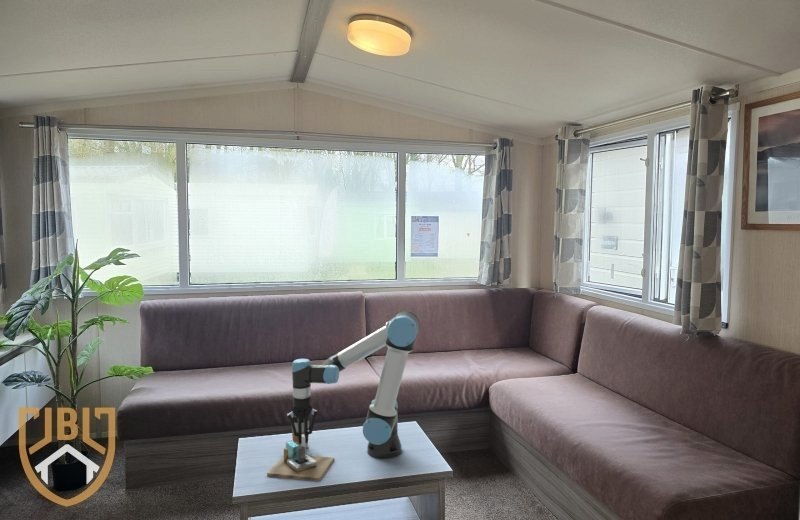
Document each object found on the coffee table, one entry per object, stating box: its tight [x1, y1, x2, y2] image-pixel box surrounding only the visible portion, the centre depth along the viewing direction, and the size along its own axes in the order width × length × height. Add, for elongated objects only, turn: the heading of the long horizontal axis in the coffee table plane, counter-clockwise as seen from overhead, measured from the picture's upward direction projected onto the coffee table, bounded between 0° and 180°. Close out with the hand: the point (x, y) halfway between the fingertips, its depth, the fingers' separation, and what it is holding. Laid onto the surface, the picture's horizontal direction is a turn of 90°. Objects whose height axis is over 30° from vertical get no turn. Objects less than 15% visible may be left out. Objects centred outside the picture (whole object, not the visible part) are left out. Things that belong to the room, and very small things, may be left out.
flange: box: [285, 440, 317, 472], centre depth 211 cm, size 9×16×6 cm, turn 39°
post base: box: [266, 446, 335, 482], centre depth 208 cm, size 22×18×8 cm
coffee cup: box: [291, 414, 311, 449], centre depth 228 cm, size 8×8×15 cm
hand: (303, 450), depth 215 cm, fingers closed
